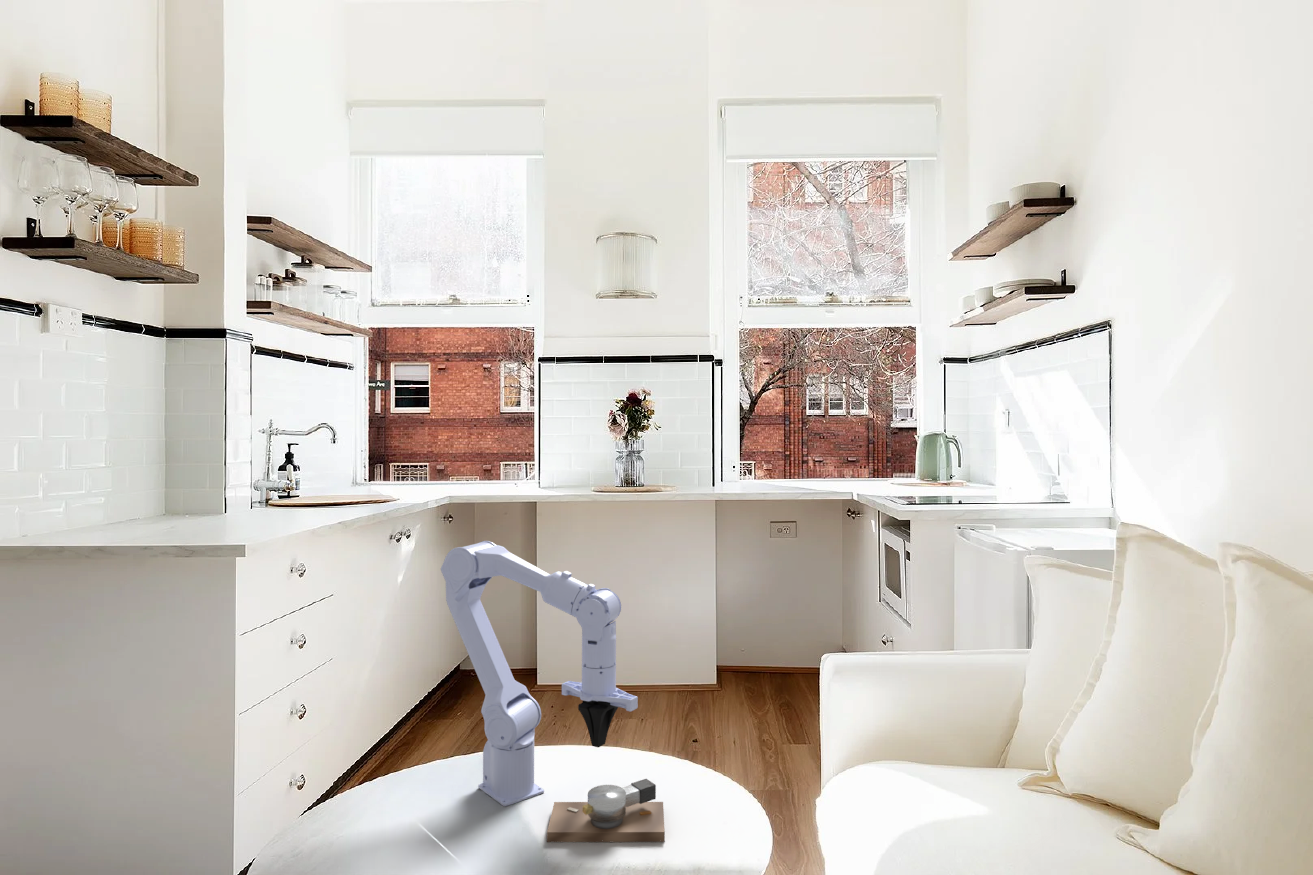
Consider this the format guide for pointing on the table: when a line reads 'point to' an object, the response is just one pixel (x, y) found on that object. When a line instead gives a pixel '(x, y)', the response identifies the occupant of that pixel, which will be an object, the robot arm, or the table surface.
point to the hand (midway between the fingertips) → (598, 744)
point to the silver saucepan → (617, 799)
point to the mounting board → (606, 824)
